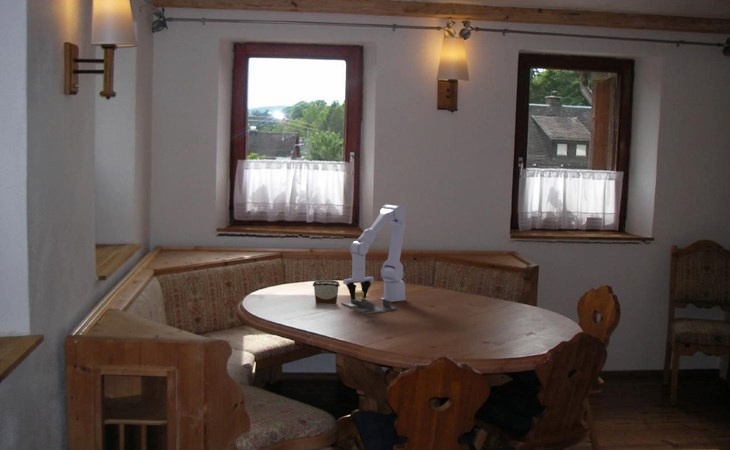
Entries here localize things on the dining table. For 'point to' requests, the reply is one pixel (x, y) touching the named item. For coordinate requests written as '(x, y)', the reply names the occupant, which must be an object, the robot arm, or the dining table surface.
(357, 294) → the clip
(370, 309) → the rail
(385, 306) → the grey finned base plate
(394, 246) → the robot arm
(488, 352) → the dining table surface
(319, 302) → the food container
